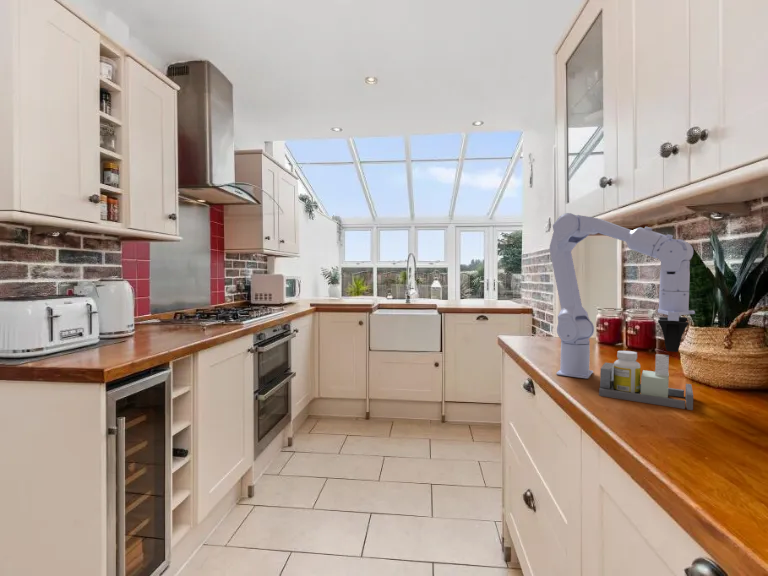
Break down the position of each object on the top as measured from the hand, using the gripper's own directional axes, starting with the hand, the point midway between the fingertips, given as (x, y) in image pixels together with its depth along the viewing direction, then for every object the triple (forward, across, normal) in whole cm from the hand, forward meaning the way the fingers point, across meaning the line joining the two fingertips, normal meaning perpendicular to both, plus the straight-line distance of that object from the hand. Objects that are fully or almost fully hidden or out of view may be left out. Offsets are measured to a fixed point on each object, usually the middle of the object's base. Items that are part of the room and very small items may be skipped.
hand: (672, 349), depth 98 cm
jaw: (+10, -7, +3) cm, 13 cm away
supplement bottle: (+11, -7, +8) cm, 15 cm away
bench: (+10, -7, +5) cm, 13 cm away
